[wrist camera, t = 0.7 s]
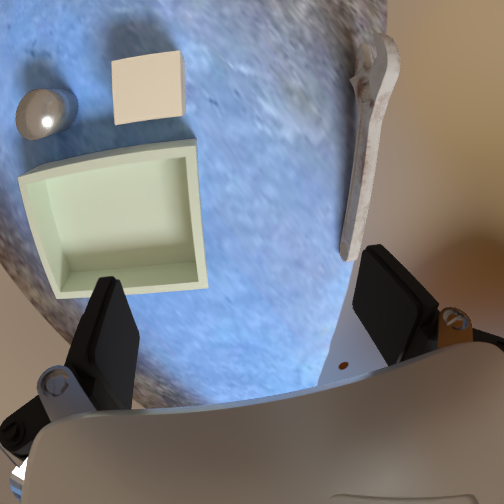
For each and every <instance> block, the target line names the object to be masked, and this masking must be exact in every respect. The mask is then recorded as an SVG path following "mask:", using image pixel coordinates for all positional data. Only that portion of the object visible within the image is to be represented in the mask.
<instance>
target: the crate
mask: <svg viewBox="0 0 504 504" xmlns="http://www.w3.org/2000/svg"><path fill="white" fill-rule="evenodd" d="M18 181H19V186H20V190H21V194H22V199H23V203H24V207H25V210H26V214H27V218H28V221H29V225H30V228H31V231H32V235H33V238H34V241H35V244H36V247H37V250H38V253H39V256H40V258H41V261H42V264H43V267H44V269H45V272H46V274H47V277H48V280H49V282H50V284H51V287H52V289H53V292H54V294H55V296H56V299H65V298H84V297H91V295H92V292H93V290H94V288H95V285H96V283H97V281H98V279H99V278H100V277H107V276H114V277H115V278H116V279H119V280H120V282H121V284H122V287H123V290H124V293H125V295H130V294H144V293H157V292H169V291H181V290H192V289H203V288H208V278H207V264H206V254H205V244H204V234H203V223H202V211H201V199H200V185H199V171H198V156H197V138H196V139H185V140H175V141H166V142H157V143H150V144H142V145H135V146H129V147H122V148H116V149H111V150H105V151H100V152H94V153H89V154H84V155H80V156H75V157H70V158H66V159H62V160H57V161H53V162H49V163H45V164H42V165H39V166H37V167H35V168H33V169H31V170H30V171H28V172H26V173H24V174H23V175H21V176H19V177H18Z"/></svg>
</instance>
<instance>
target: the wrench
mask: <svg viewBox="0 0 504 504" xmlns="http://www.w3.org/2000/svg"><path fill="white" fill-rule="evenodd" d="M373 37H374V42H375V46H376V51H377V57H376V59H375V61H374V63H373V60H372V53H371V50H370V46H369V45H368V44H364V43H362V44H361V45H360V46H359V48H358V52H357V57H356V62H355V76H354V77H352V78H350V79H349V80H350V82H351V84H352V86H353V88H354V93H355V97H356V102H357V112H358V123H357V134H356V144H355V153H354V160H353V168H352V175H351V182H350V189H349V195H348V202H347V208H346V214H345V220H344V225H343V230H342V236H341V242H340V250H339V252H340V256H341V259H342V260H343V261H344V262H348V261H355V260H356V259H357V257H358V254H359V250H360V246H361V242H362V237H363V232H364V228H365V223H366V218H367V213H368V208H369V203H370V198H371V191H372V186H373V180H374V174H375V168H376V161H377V154H378V147H379V139H380V131H381V123H382V120H383V117H384V114H385V111H386V107H387V104H388V101H389V98H390V95H391V93H392V90H393V88H394V85H395V82H396V80H397V78H398V75H399V71H400V54H399V51H398V48H397V45H396V43H395V42H394V40H393V39H392V38H391V37H389V36H388V35H384V34H380V33H373Z"/></svg>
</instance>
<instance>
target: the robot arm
mask: <svg viewBox="0 0 504 504" xmlns="http://www.w3.org/2000/svg"><path fill="white" fill-rule="evenodd" d="M352 305H353V309H354V311H355V313H356V315H357V316H358V318H359V319H360V321H361V322H362V324H363V325H364V327H365V329H366V330H367V332H368V333H369V335H370V337H371V338H372V340H373V341H374V343H375V345H376V346H377V348H378V350H379V351H380V353H381V354H382V356H383V358H384V359H385V361H386V363H387V364H388V367H385V368H382V369H379V370H376V371H372V372H369V373H366V374H362V375H359V376H355V377H352V378H348V379H344V380H340V381H337V382H333V383H329V384H325V385H321V386H316V387H312V388H308V389H303V390H298V391H294V392H289V393H284V394H278V395H273V396H267V397H261V398H255V399H249V400H242V401H235V402H228V403H219V404H210V405H200V406H189V407H175V408H158V409H135V410H134V409H133V410H132V409H131V407H132V397H133V387H134V378H135V370H136V362H137V355H138V348H139V341H140V336H139V331H138V329H137V326H136V323H135V321H134V318H133V316H132V313H131V310H130V307H129V305H128V302H127V299H126V296H125V293H124V290H123V287H122V284H121V282H120V280H119V279H116V278H115V277H114V276H107V277H100V278H99V279H98V281H97V283H96V285H95V288H94V290H93V292H92V295H91V297H90V300H89V302H88V305H87V307H86V310H85V312H84V314H83V315H82V317H81V319H80V322H79V324H78V327H77V330H76V332H75V335H74V338H73V341H72V344H71V347H70V349H69V353H68V355H67V358H66V362H65V365H64V366H61V365H57V366H53V367H50V368H48V369H47V370H46V371H44V372H43V373H42V375H41V376H40V378H39V380H38V382H37V391H38V394H39V395H37V396H36V397H35V398H33V399H32V400H31V401H29V402H28V403H26V404H25V405H24V406H22V407H21V408H20V409H18V410H17V411H16V412H14V413H13V414H11V415H10V416H9V417H7V418H6V419H5V420H4V421H3V423H2V424H1V426H0V504H504V338H501V337H499V336H495V335H492V334H489V333H486V332H483V331H480V330H477V329H474V328H472V322H471V319H470V317H469V316H468V315H467V314H466V313H465V312H464V311H462V310H461V309H458V308H456V307H445V308H443V309H442V310H441V311H440V312H439V310H438V309H437V308H438V306H439V303H438V302H437V301H436V300H435V299H434V298H433V296H432V295H431V294H430V293H429V292H428V291H427V290H426V289H425V288H424V287H423V286H422V285H421V284H420V283H419V282H418V281H417V280H416V278H415V277H414V276H413V275H412V274H411V273H410V272H409V271H408V270H407V269H406V268H405V267H404V266H403V265H402V264H401V263H400V262H399V261H398V260H397V259H396V258H395V257H394V256H393V255H392V254H391V253H390V252H389V251H388V250H387V249H386V248H384V247H383V246H382V245H381V244H377V245H369V246H367V247H366V249H365V250H363V252H362V257H361V262H360V267H359V273H358V278H357V283H356V288H355V293H354V297H353V303H352Z"/></svg>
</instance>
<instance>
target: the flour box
mask: <svg viewBox="0 0 504 504" xmlns="http://www.w3.org/2000/svg"><path fill="white" fill-rule="evenodd" d="M112 91H113V108H114V120H115V125H120V124H126V123H132V122H138V121H145V120H152V119H160V118H168V117H177V116H183V115H184V114H185V113H186V100H185V67H184V59H183V56H182V54H181V52H180V51H170V52H162V53H155V54H148V55H142V56H136V57H130V58H125V59H120V60H115V61H112Z"/></svg>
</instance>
